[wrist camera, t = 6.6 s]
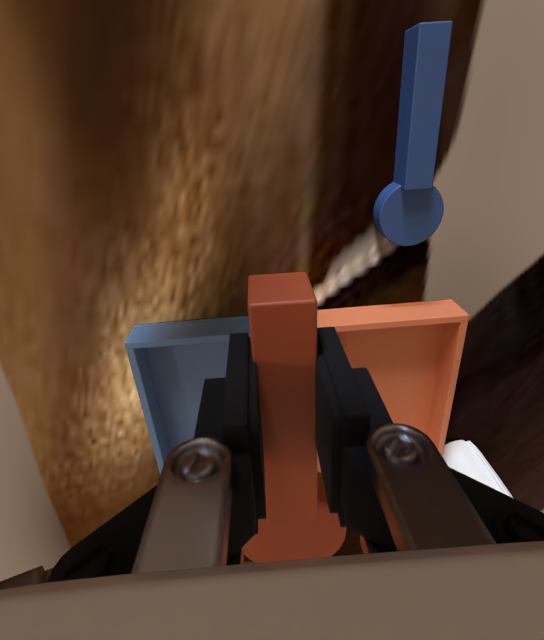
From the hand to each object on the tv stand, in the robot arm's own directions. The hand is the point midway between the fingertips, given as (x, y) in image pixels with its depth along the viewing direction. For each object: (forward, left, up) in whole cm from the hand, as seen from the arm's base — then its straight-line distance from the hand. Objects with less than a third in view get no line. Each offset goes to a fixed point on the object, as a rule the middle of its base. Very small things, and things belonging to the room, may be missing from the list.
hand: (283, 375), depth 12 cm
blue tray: (+12, -4, -15) cm, 20 cm away
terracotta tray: (+12, +8, -15) cm, 21 cm away
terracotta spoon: (+2, 0, 0) cm, 2 cm away
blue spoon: (-5, +9, -15) cm, 18 cm away
